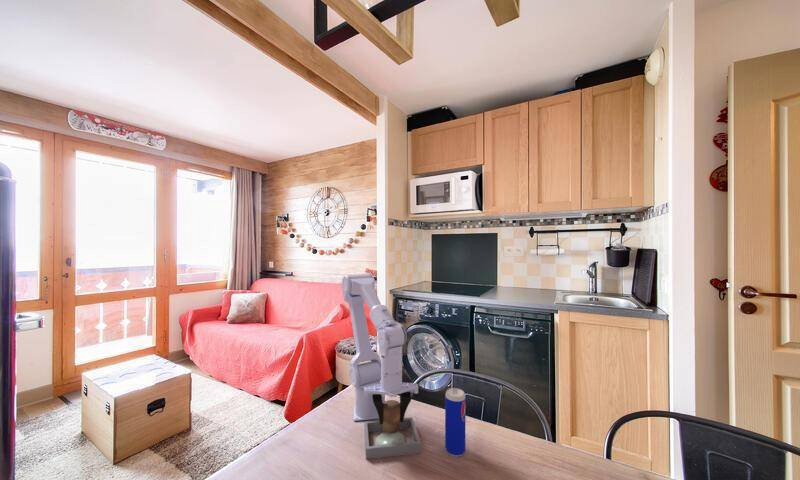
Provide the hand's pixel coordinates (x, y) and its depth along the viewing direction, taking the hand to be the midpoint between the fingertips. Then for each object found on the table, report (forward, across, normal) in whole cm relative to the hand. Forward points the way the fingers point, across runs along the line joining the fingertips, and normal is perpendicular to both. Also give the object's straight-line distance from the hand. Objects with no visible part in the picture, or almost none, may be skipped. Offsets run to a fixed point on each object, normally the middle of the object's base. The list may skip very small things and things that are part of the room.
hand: (391, 420), depth 77 cm
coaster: (+6, 0, 0) cm, 6 cm away
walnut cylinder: (+2, 0, 0) cm, 2 cm away
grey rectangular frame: (+6, 0, 0) cm, 6 cm away
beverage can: (+6, +16, -6) cm, 18 cm away
